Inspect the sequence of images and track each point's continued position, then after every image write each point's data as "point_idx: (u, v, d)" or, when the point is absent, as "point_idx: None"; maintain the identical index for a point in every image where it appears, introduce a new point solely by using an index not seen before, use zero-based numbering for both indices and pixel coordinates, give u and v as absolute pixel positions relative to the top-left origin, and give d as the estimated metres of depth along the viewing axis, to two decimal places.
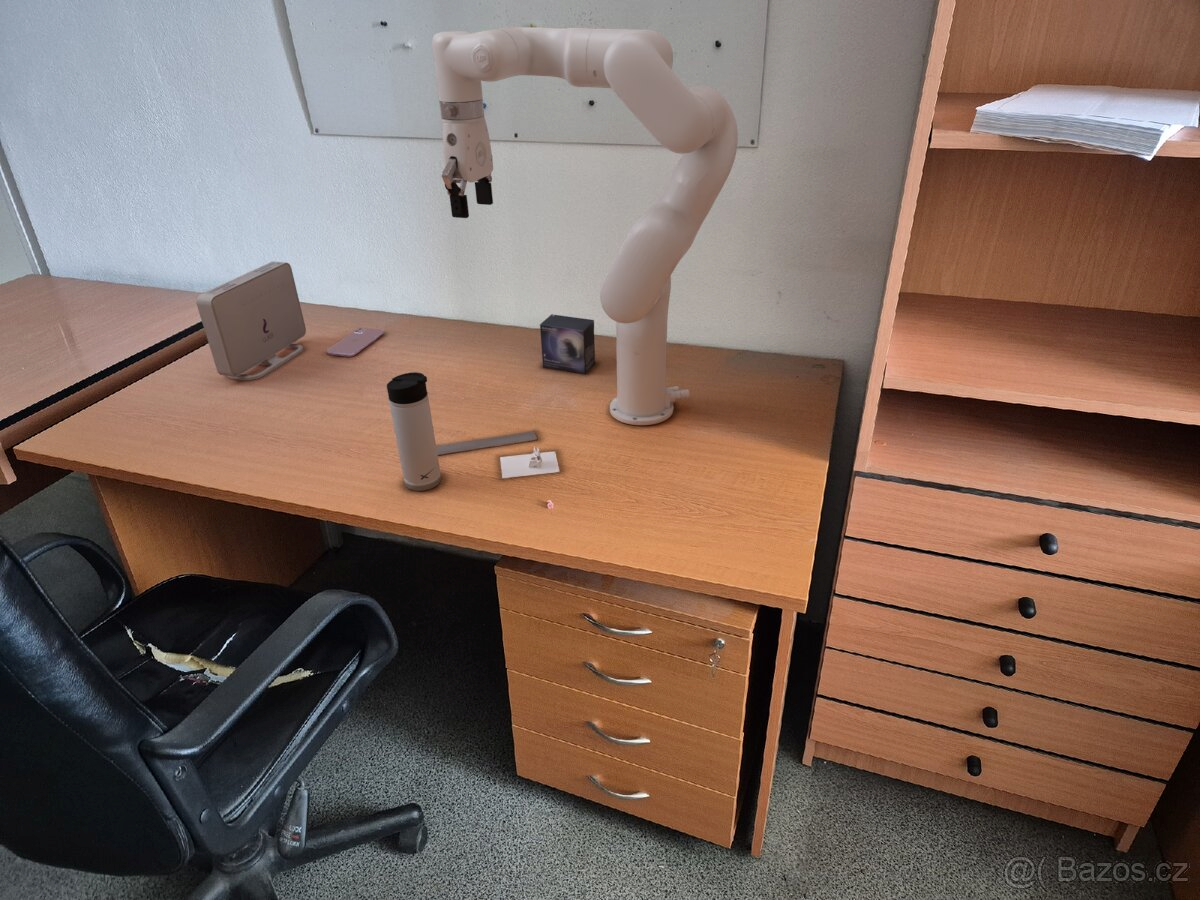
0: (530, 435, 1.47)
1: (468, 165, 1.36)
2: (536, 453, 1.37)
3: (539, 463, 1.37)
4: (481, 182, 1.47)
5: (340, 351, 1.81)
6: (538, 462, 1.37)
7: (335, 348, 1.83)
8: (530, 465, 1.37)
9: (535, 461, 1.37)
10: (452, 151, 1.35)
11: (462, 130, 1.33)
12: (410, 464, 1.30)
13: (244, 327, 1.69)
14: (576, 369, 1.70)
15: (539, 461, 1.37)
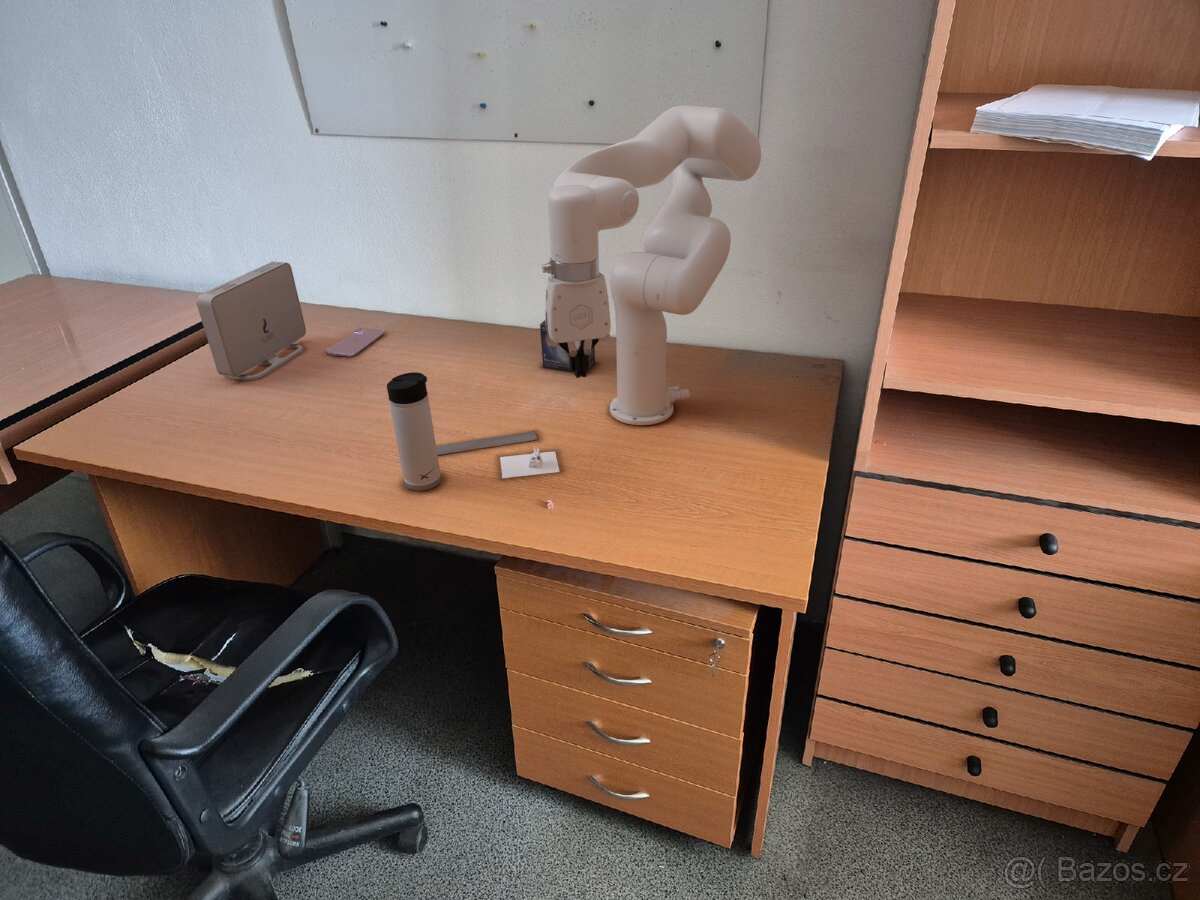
0: (530, 435, 1.47)
1: (553, 325, 1.24)
2: (536, 453, 1.37)
3: (539, 463, 1.37)
4: (579, 351, 1.30)
5: (340, 351, 1.81)
6: (538, 462, 1.37)
7: (335, 348, 1.83)
8: (530, 465, 1.37)
9: (535, 461, 1.37)
10: (546, 306, 1.25)
11: (551, 290, 1.21)
12: (410, 464, 1.30)
13: (244, 327, 1.69)
14: None
15: (539, 461, 1.37)
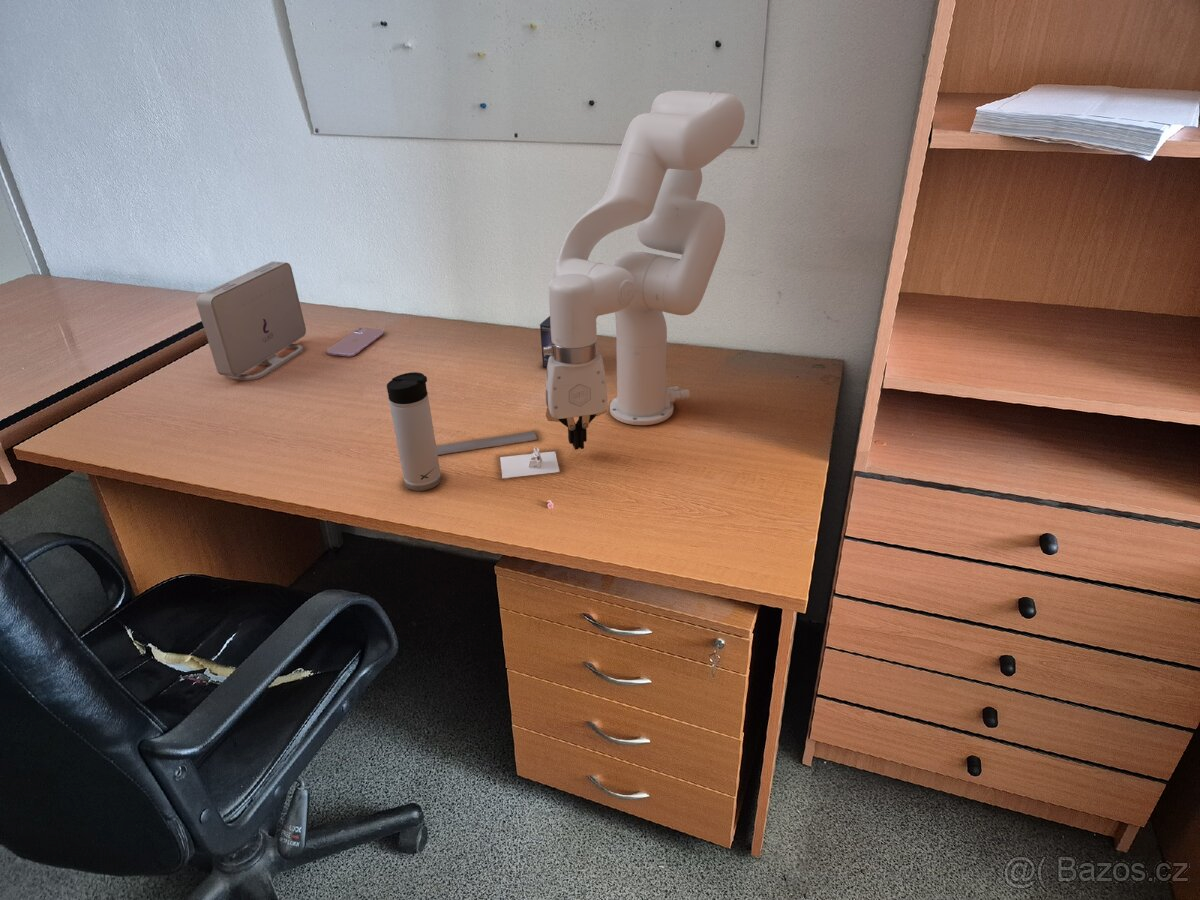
0: (530, 435, 1.47)
1: (553, 403, 1.31)
2: (536, 453, 1.37)
3: (539, 463, 1.37)
4: (578, 425, 1.37)
5: (340, 351, 1.81)
6: (538, 462, 1.37)
7: (335, 348, 1.83)
8: (530, 465, 1.37)
9: (535, 461, 1.37)
10: (546, 385, 1.32)
11: (552, 371, 1.28)
12: (410, 464, 1.30)
13: (244, 327, 1.69)
14: None
15: (539, 461, 1.37)
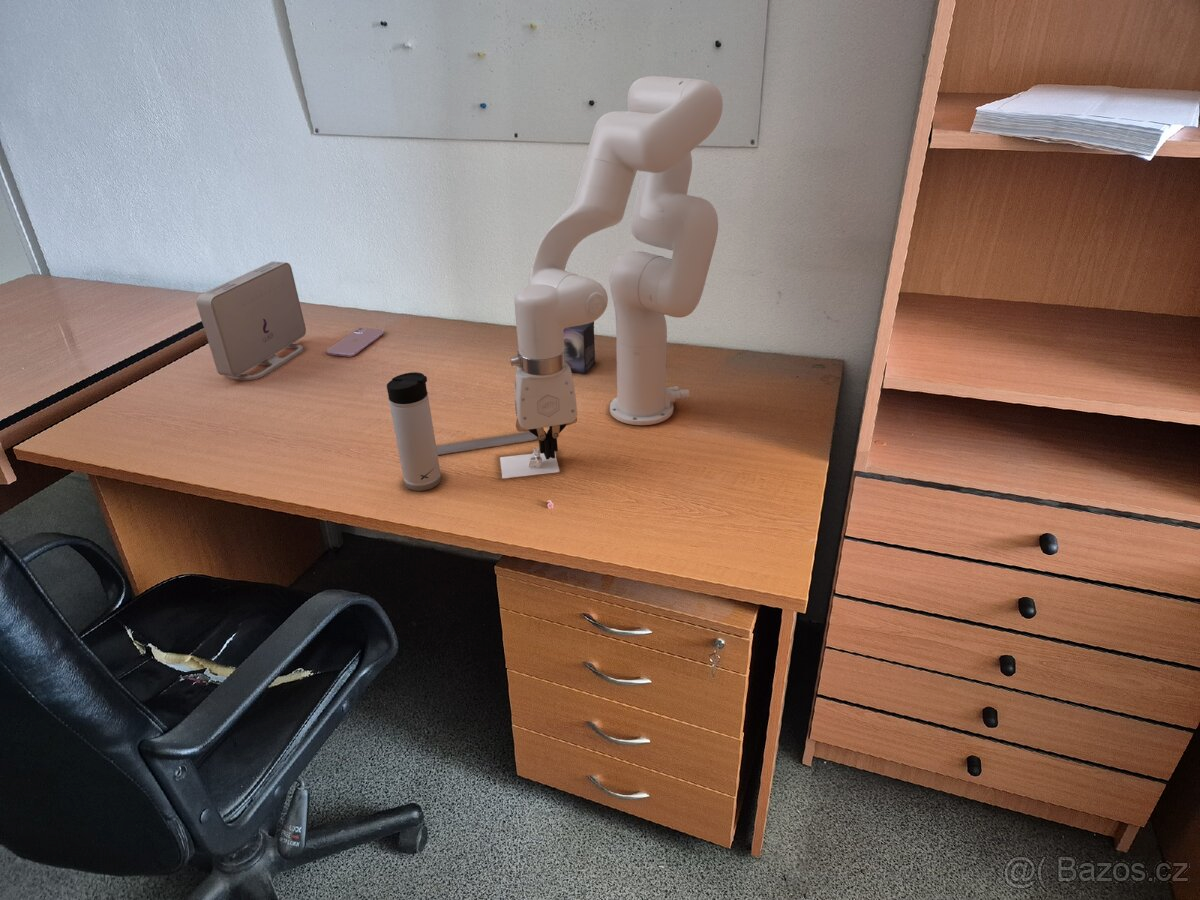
0: (530, 435, 1.47)
1: (521, 414, 1.30)
2: (536, 453, 1.37)
3: (539, 463, 1.37)
4: (548, 434, 1.37)
5: (340, 351, 1.81)
6: (538, 462, 1.37)
7: (335, 348, 1.83)
8: (530, 465, 1.37)
9: (535, 461, 1.37)
10: (515, 396, 1.31)
11: (519, 382, 1.28)
12: (410, 464, 1.30)
13: (244, 327, 1.69)
14: (576, 369, 1.70)
15: (539, 461, 1.37)
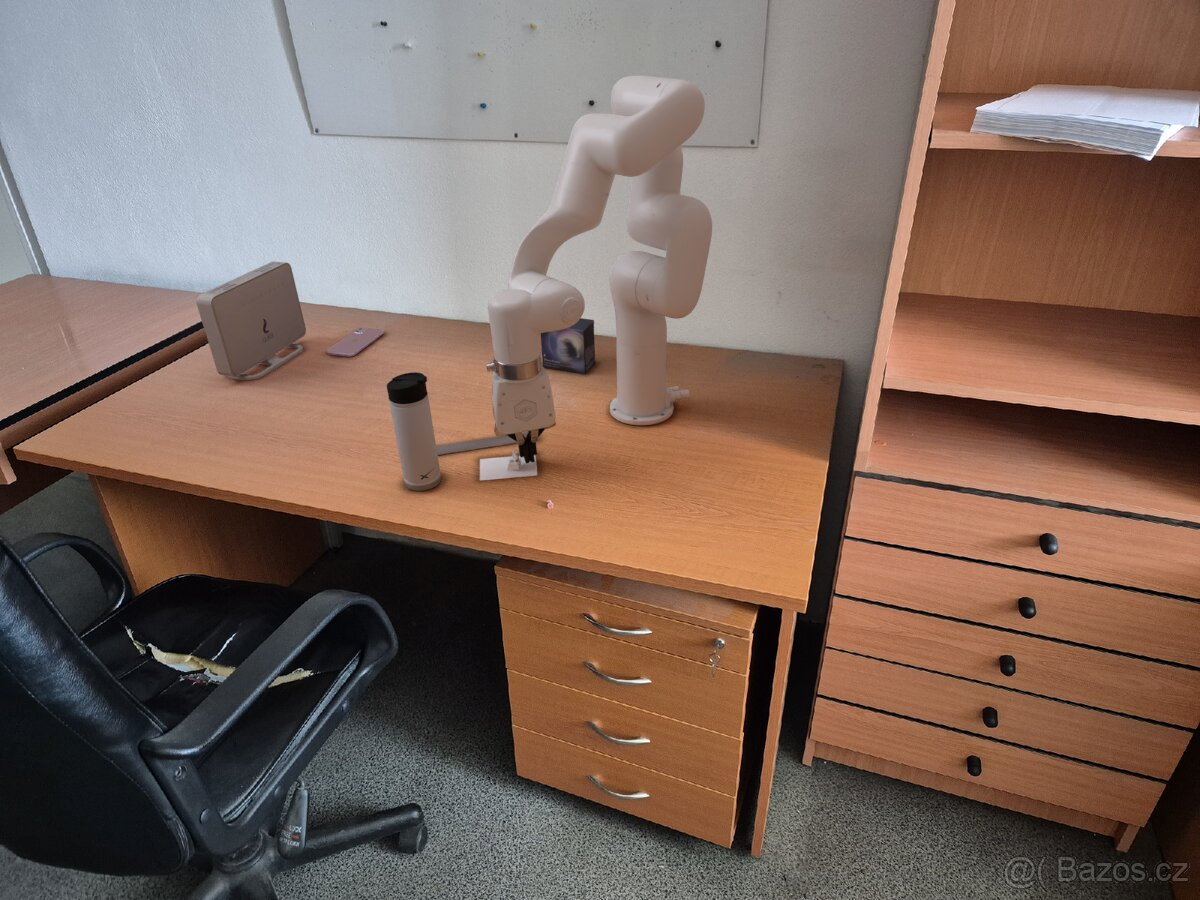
0: None
1: (499, 419, 1.30)
2: (515, 456, 1.37)
3: (517, 466, 1.37)
4: (527, 438, 1.36)
5: (340, 351, 1.81)
6: (516, 465, 1.37)
7: (335, 348, 1.83)
8: (508, 468, 1.37)
9: (513, 464, 1.37)
10: (492, 401, 1.31)
11: (496, 388, 1.27)
12: (410, 464, 1.30)
13: (244, 327, 1.69)
14: (576, 369, 1.70)
15: (517, 464, 1.37)
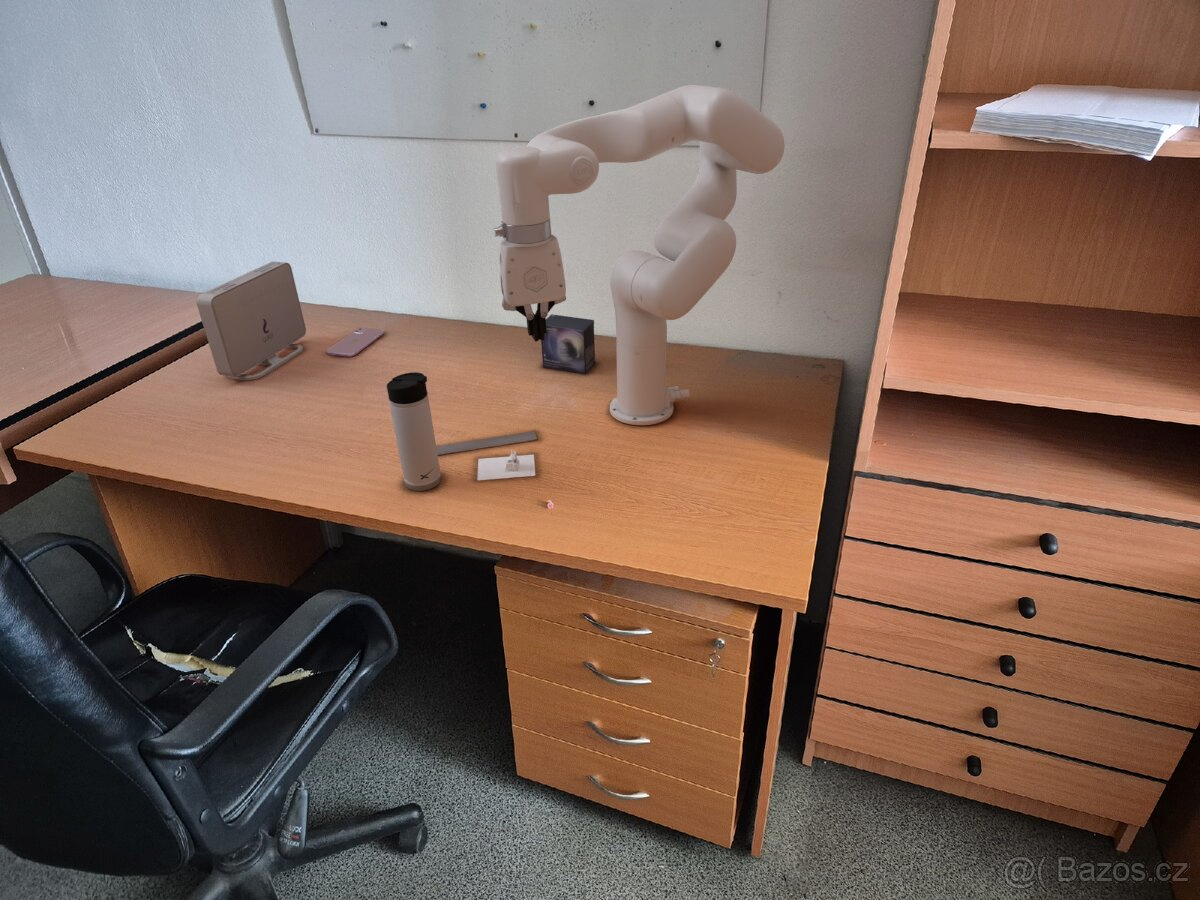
0: (530, 435, 1.47)
1: (508, 289, 1.25)
2: (513, 456, 1.37)
3: (515, 466, 1.36)
4: (537, 315, 1.31)
5: (340, 351, 1.81)
6: (514, 465, 1.36)
7: (335, 348, 1.83)
8: (506, 468, 1.37)
9: (511, 464, 1.37)
10: (500, 270, 1.25)
11: (504, 253, 1.22)
12: (410, 464, 1.30)
13: (244, 327, 1.69)
14: (576, 369, 1.70)
15: (515, 464, 1.37)
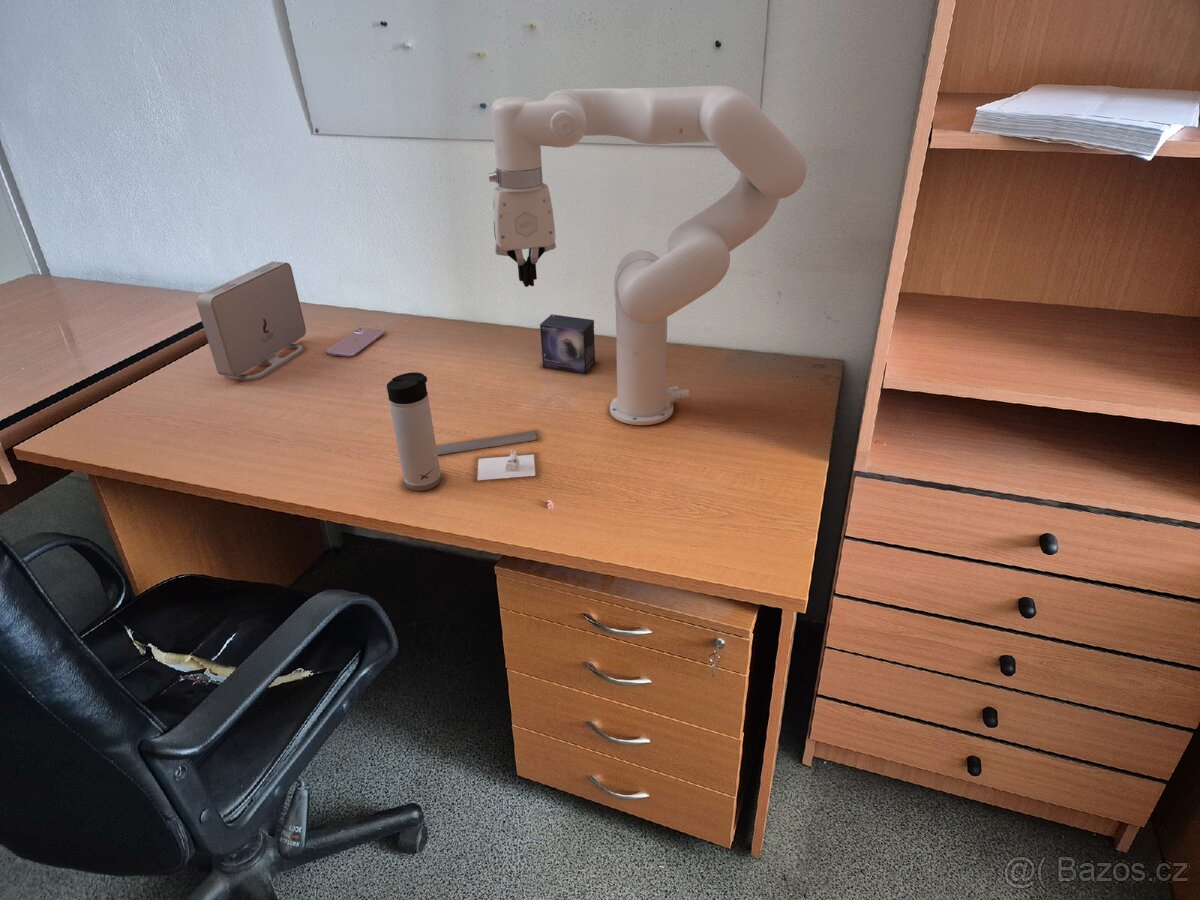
0: (530, 435, 1.47)
1: (499, 233, 1.31)
2: (513, 456, 1.37)
3: (515, 466, 1.36)
4: (527, 261, 1.38)
5: (340, 351, 1.81)
6: (514, 465, 1.36)
7: (335, 348, 1.83)
8: (506, 468, 1.37)
9: (511, 464, 1.37)
10: (493, 215, 1.32)
11: (497, 198, 1.29)
12: (410, 464, 1.30)
13: (244, 327, 1.69)
14: (576, 369, 1.70)
15: (515, 464, 1.37)
